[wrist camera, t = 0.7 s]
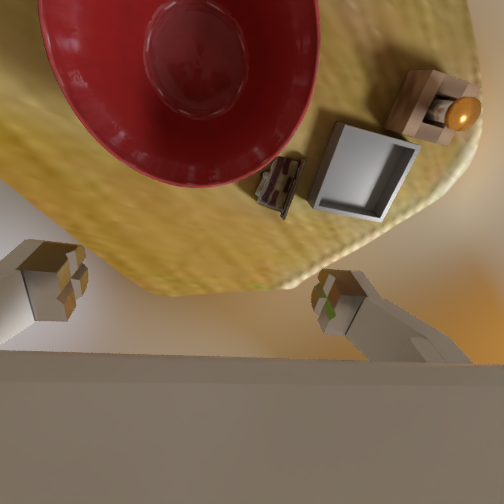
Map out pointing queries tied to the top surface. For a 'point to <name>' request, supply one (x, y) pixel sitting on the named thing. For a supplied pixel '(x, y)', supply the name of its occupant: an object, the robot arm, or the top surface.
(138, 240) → the top surface
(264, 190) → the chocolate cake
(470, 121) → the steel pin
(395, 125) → the hitch block
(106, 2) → the mixing bowl
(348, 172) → the tray
